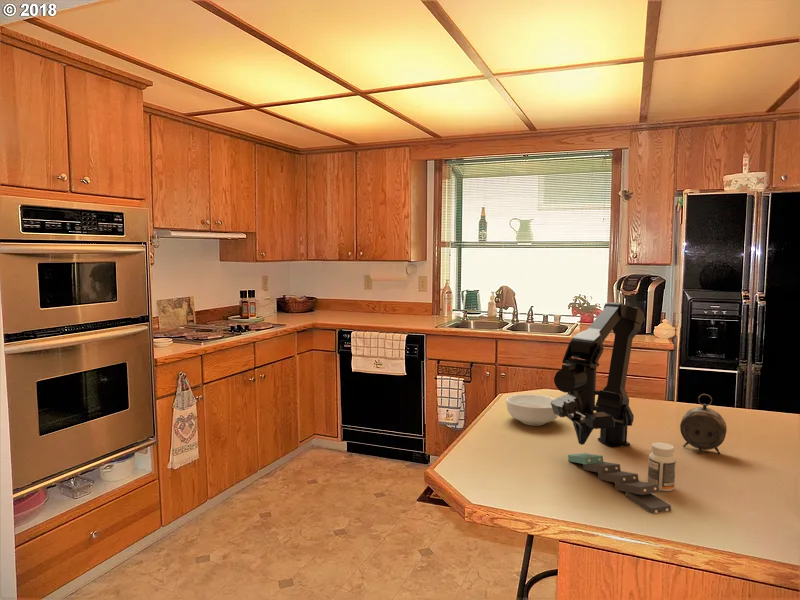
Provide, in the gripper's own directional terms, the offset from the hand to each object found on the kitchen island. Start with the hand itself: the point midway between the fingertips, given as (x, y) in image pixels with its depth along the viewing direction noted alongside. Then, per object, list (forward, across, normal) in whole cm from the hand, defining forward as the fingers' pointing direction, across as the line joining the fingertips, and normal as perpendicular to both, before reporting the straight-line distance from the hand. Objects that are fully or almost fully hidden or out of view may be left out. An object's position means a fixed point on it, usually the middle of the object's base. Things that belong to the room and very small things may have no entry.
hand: (581, 444), depth 144 cm
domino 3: (+4, +11, 0) cm, 11 cm away
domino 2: (+4, +5, 0) cm, 6 cm away
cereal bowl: (+5, -32, +4) cm, 33 cm away
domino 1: (+4, -1, -1) cm, 4 cm away
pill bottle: (+5, +18, +9) cm, 21 cm away
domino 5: (+4, +21, 0) cm, 21 cm away
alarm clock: (+5, +3, +36) cm, 36 cm away
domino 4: (+4, +17, 0) cm, 17 cm away
